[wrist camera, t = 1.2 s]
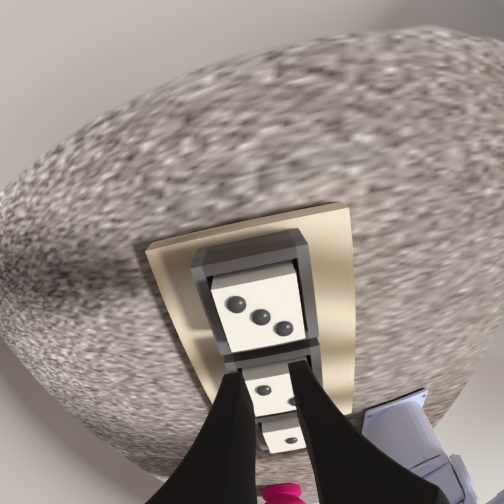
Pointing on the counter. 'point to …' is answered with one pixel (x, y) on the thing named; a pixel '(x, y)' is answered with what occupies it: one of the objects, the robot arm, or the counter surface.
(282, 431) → the tile one
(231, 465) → the robot arm
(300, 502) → the pepper mill
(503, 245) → the counter surface
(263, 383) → the tile two
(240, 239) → the tile board
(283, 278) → the tile three
